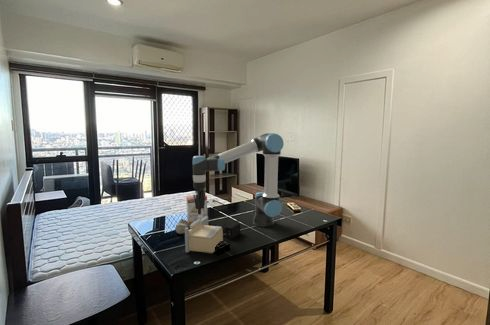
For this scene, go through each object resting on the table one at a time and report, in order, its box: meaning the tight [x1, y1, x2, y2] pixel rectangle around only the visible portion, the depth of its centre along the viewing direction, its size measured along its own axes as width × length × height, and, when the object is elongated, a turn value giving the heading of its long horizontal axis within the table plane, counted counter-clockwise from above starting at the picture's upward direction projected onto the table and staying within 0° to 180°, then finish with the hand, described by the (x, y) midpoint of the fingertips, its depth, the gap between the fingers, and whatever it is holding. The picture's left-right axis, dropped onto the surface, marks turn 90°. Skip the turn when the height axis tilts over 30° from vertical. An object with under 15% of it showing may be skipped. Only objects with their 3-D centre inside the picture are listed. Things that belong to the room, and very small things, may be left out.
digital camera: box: [224, 222, 241, 240], centre depth 163 cm, size 10×5×7 cm, turn 149°
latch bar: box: [189, 218, 202, 229], centre depth 151 cm, size 2×12×2 cm, turn 165°
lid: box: [189, 222, 223, 239], centre depth 148 cm, size 14×16×3 cm
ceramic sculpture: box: [175, 218, 191, 235], centre depth 172 cm, size 11×9×15 cm
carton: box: [184, 215, 224, 254], centre depth 152 cm, size 15×28×14 cm, turn 165°
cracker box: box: [185, 194, 208, 224], centre depth 183 cm, size 14×6×21 cm, turn 112°
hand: (200, 218), depth 158 cm, fingers closed
